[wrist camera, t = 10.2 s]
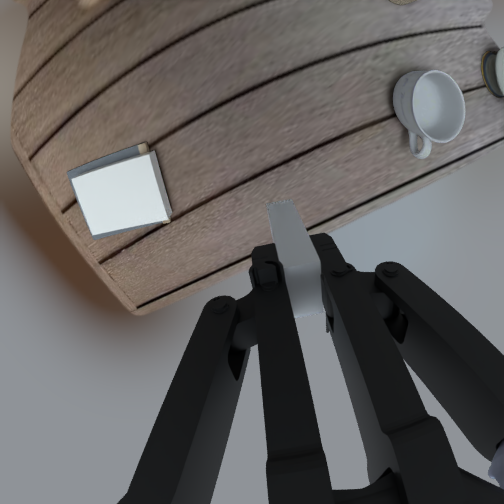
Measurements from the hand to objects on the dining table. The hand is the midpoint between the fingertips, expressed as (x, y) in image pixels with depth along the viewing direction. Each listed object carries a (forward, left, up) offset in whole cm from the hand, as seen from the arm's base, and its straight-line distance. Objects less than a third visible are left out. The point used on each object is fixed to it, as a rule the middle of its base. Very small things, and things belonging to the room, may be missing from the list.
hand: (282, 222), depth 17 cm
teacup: (+16, +20, -27) cm, 37 cm away
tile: (-9, -12, -24) cm, 28 cm away
